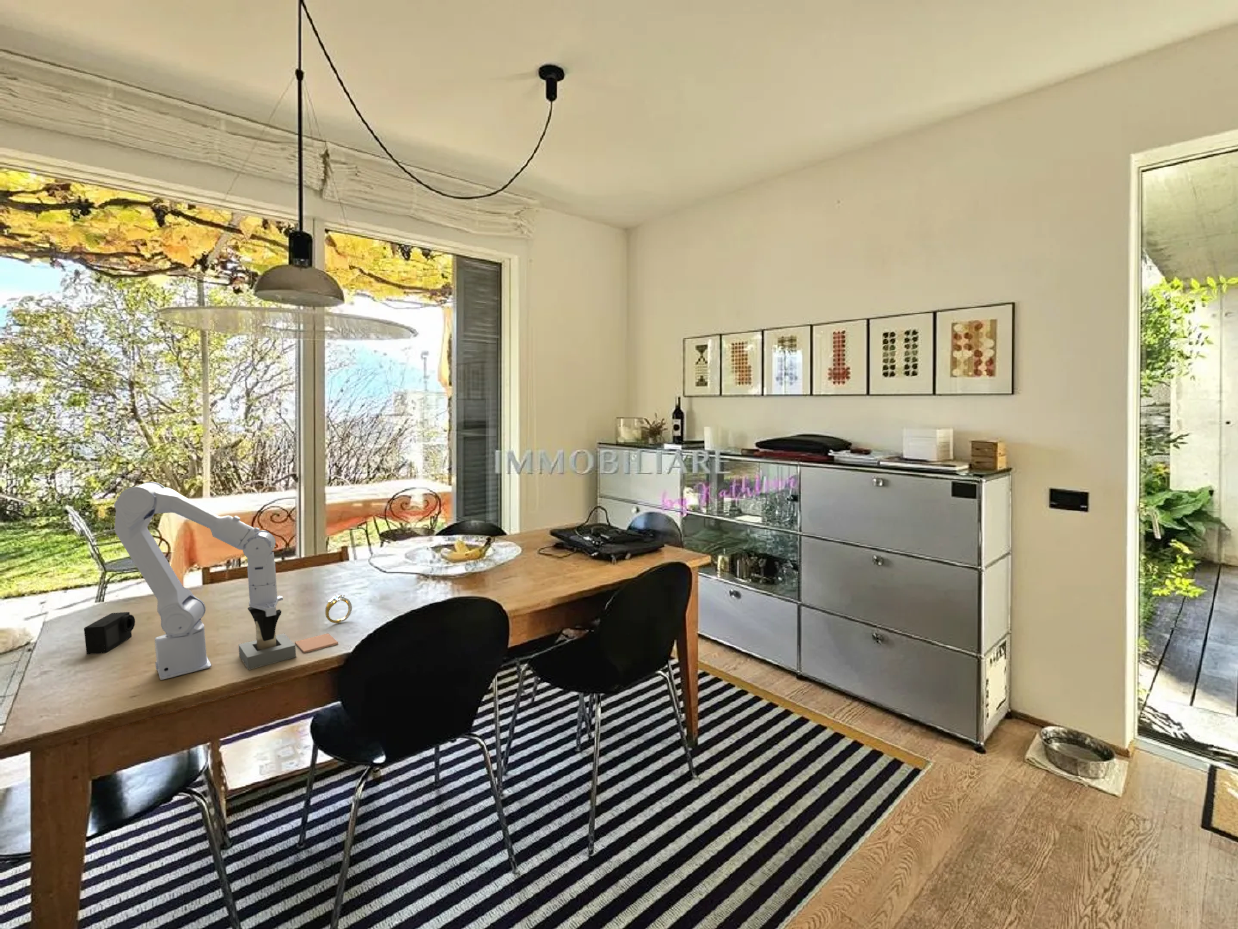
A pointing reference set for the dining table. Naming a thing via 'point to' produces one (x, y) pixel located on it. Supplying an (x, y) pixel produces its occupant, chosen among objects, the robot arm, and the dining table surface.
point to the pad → (316, 643)
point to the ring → (335, 599)
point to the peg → (263, 644)
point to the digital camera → (108, 632)
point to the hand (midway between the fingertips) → (266, 636)
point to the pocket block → (267, 652)
